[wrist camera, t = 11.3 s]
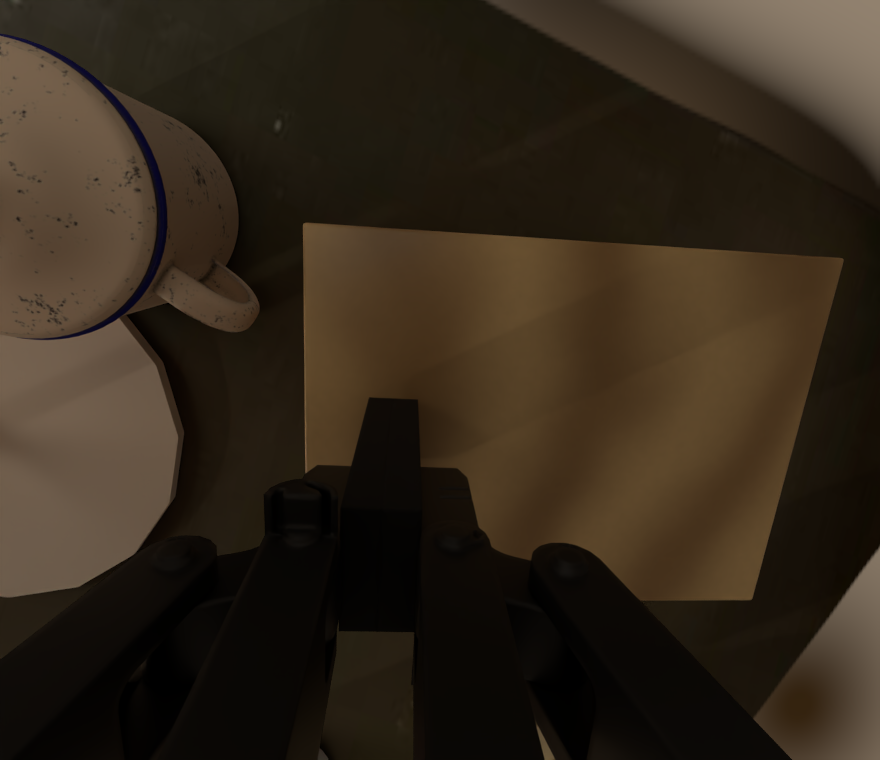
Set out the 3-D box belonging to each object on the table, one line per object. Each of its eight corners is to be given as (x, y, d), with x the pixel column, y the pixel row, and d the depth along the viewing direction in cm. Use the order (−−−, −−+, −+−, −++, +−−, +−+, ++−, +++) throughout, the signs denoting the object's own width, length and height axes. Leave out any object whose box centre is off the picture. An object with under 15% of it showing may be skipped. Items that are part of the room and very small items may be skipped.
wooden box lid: (309, 587, 18) (306, 603, 18) (307, 222, 15) (302, 222, 14) (738, 587, 20) (752, 601, 19) (825, 256, 17) (845, 258, 16)
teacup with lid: (11, 227, 24) (-334, 223, 13) (106, 56, 22) (-197, -120, 11) (234, 374, 27) (107, 477, 15) (334, 230, 25) (272, 228, 14)
